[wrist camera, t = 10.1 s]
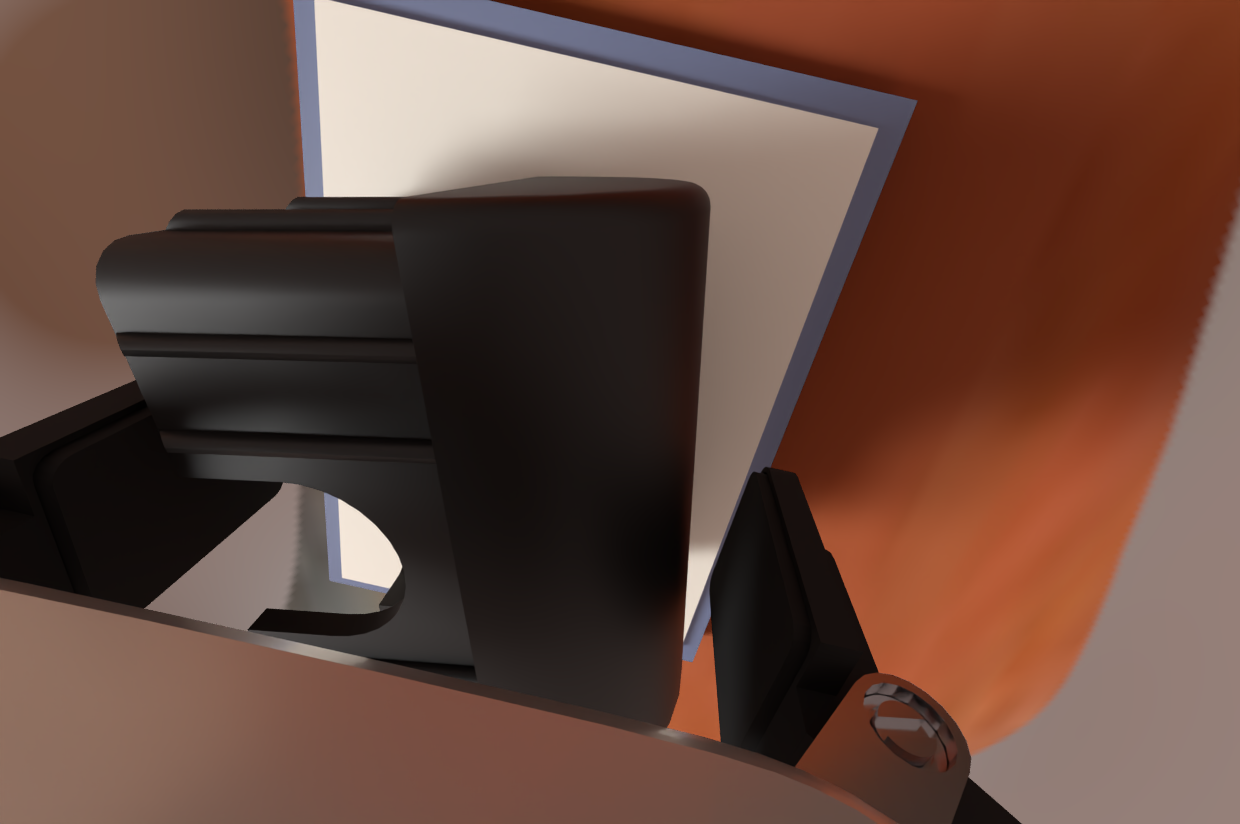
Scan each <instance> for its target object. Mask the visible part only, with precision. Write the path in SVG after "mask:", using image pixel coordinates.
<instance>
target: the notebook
mask: <svg viewBox="0 0 1240 824" xmlns="http://www.w3.org/2000/svg"><path fill="white" fill-rule="evenodd" d="M293 2H294V18H295V34H296V50H297V66H298V82H299V98H300V114H301V130H302V146H303V162H304V178H305V194H306V197H408V196H414V195H421V194H427V193H434V192H440V191H447V190H453V189H460V188H466V187H473V186H479V185H486V184H492V183H499V182H505V181H512V180H519V179H525V178H532V177H546V176H576V177H638V178H660V179H674V180H681V181H688V182H692V183H695V184H697V185H699V186H701V187H702V188H703V189H704V190H705V191H706V192H707V194H708V196H709V198H710V205H711V210H710V226H709V242H708V258H707V274H706V289H705V305H704V321H703V337H702V353H701V369H700V385H699V401H698V417H697V432H696V448H695V464H694V480H693V496H692V512H691V528H690V544H689V560H688V575H687V591H686V607H685V623H684V639H683V655H682V660H685V661H690V662H693V659H694V657H695V654H696V652H697V649H698V647H699V644H700V642H701V639H702V637H703V634H704V632H705V629H706V627H707V624H708V622H709V619H710V617H711V608H710V596H709V588H710V580H711V576H712V573H713V570H714V568H715V565H716V563H717V560H718V557H719V555H720V552H721V550H722V547H723V544H724V542H725V539H726V537H727V534H728V531H729V529H730V526H731V524H732V521H733V519H734V516H735V513H736V511H737V508H738V506H739V503H740V500H741V498H742V495H743V493H744V490H745V487H746V485H747V482H748V480H749V477H750V475H751V474H752V472H758V473H761V471H762V470H763V468H765V467H771V465H772V462H773V460H774V457H775V455H776V452H777V450H778V447H779V445H780V442H781V440H782V437H783V435H784V432H785V430H786V427H787V425H788V422H789V420H790V417H791V415H792V412H793V410H794V407H795V405H796V402H797V400H798V397H799V395H800V393H801V390H802V388H803V385H804V383H805V380H806V378H807V375H808V373H809V370H810V368H811V365H812V363H813V360H814V358H815V355H816V353H817V350H818V348H819V345H820V343H821V340H822V338H823V335H824V333H825V330H826V328H827V325H828V323H829V320H830V318H831V315H832V313H833V310H834V308H835V305H836V303H837V300H838V298H839V295H840V293H841V290H842V288H843V285H844V283H845V280H846V278H847V275H848V273H849V270H850V268H851V265H852V263H853V260H854V258H855V256H856V253H857V251H858V248H859V246H860V243H861V241H862V238H863V236H864V233H865V231H866V228H867V226H868V223H869V221H870V218H871V216H872V213H873V211H874V208H875V206H876V203H877V201H878V198H879V196H880V193H881V191H882V188H883V186H884V183H885V181H886V178H887V176H888V173H889V171H890V168H891V166H892V163H893V161H894V158H895V156H896V153H897V151H898V148H899V146H900V143H901V141H902V138H903V136H904V133H905V131H906V128H907V126H908V123H909V121H910V119H911V116H912V114H913V111H914V109H915V106H916V104H917V100H913V99H908V98H904V97H900V96H896V95H891V94H887V93H883V92H878V91H874V90H870V89H866V88H861V87H857V86H853V85H849V84H844V83H840V82H836V81H831V80H827V79H823V78H819V77H814V76H810V75H806V74H802V73H797V72H793V71H789V70H784V69H780V68H776V67H772V66H767V65H763V64H759V63H754V62H750V61H746V60H742V59H737V58H733V57H729V56H725V55H720V54H716V53H712V52H707V51H703V50H699V49H695V48H690V47H686V46H682V45H678V44H673V43H669V42H665V41H660V40H656V39H652V38H648V37H643V36H639V35H635V34H631V33H626V32H622V31H618V30H613V29H609V28H605V27H601V26H596V25H592V24H588V23H583V22H579V21H575V20H571V19H566V18H562V17H558V16H554V15H549V14H545V13H541V12H536V11H532V10H528V9H524V8H519V7H515V6H511V5H507V4H502V3H498V2H494V1H489V0H293ZM324 498H325V514H326V530H327V546H328V562H329V578H330V581H334V582H338V583H343V584H347V585H352V586H356V587H360V588H365V589H369V590H374V591H378V592H383V593H387V592H388V591H389V589H390V587H391V586H392V584H393V583H394V581H395V580H396V578H397V577H398V575H399V574H400V572H401V569H402V565H401V562H400V559H399V557H398V555H397V553H396V551H395V550H394V548H393V546H392V545H391V543H390V542H389V540H388V539H387V538H386V537H385V535H384V534H383V533H382V532H381V531H380V530H379V529H378V527H377V526H376V525H375V524H374V523H372V522H371V521H370V520H369V519H368V518H367V517H365V516H364V515H363V514H362V513H361V512H359V511H358V510H356V509H355V508H353V507H351V506H350V505H348V504H347V503H345V502H344V501H342V500H340V499H338V498H336V497H334V496H331V495H329V494H327V493H325V492H324Z"/></svg>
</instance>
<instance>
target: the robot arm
mask: <svg viewBox="0 0 1240 824" xmlns="http://www.w3.org/2000/svg"><path fill="white" fill-rule="evenodd" d="M282 484H283V482H271V481H250V480H229V479H208V478H187V477H179V475H178V473H177V471H176V469H175V466H174V464H173V462H172V460H171V457H170V455H169V453H168V452H167V451H166V449H165V447H164V445H163V442H162V439H161V435H160V433H159V431H158V428H157V426H156V424H155V422H154V419H153V417H152V415H151V413H150V410H149V408H148V406H147V404H146V401H145V399H144V397H143V395H142V393H141V390H140V388H139V386H138V384H137V381H136V380H135V381H133V382H130V383H128V384H125V385H123V386H121V387H118V388H116V389H114V390H111V391H109V392H107V393H104V394H102V395H100V396H97V397H95V398H92V399H90V400H88V401H85V402H83V403H81V404H78V405H76V406H73V407H71V408H69V409H66V410H64V411H62V412H59V413H57V414H55V415H52V416H50V417H47V418H45V419H43V420H40V421H38V422H36V423H33V424H31V425H29V426H26V427H24V428H22V429H19V430H17V431H14V432H12V433H10V434H7V435H5V436H3V437H0V824H1021V823H1020V822H1019V821H1018V820H1017V819H1016V818H1015V817H1013V816H1012V815H1011V814H1010V813H1009V812H1008V811H1007V810H1005V809H1004V808H1003V807H1002V806H1001V805H1000V804H999V803H997V802H996V801H995V800H994V799H993V798H992V797H991V796H989V795H988V794H987V793H985V791H984V790H982V789H981V788H980V787H979V786H978V785H977V784H976V783H974V782H973V781H972V780H971V779H970V778H969V777H968V776H969V773H970V766H971V756H970V752H969V749H968V745H967V741H966V739H965V738H964V736H963V734H962V732H961V731H960V729H959V727H958V725H957V724H956V722H955V721H954V720H953V719H952V717H951V716H950V715H949V714H948V713H947V711H946V710H945V709H944V708H943V707H942V706H941V705H940V704H939V703H938V702H937V701H935V700H934V699H933V698H932V697H931V696H930V695H929V694H927V693H926V692H925V691H923V690H922V689H920V688H918V687H917V686H915V685H914V684H912V683H910V682H909V681H906V680H904V679H901V678H899V677H896V676H894V675H890V674H883V673H879V672H878V669H877V667H876V664H875V662H874V659H873V657H872V654H871V652H870V649H869V646H868V644H867V641H866V639H865V636H864V634H863V631H862V629H861V626H860V624H859V621H858V618H857V616H856V613H855V611H854V608H853V606H852V603H851V601H850V598H849V595H848V593H847V590H846V588H845V585H844V583H843V580H842V578H841V575H840V572H839V570H838V567H837V565H836V562H835V560H834V558H833V556H832V554H831V553H830V552H829V551H827V550H825V548H824V545H823V543H822V540H821V537H820V535H819V532H818V530H817V527H816V524H815V522H814V519H813V516H812V514H811V511H810V508H809V506H808V503H807V500H806V498H805V495H804V493H803V490H802V487H801V485H800V482H799V479H798V477H797V475H796V474H795V473H792V472H788V471H783V470H779V469H774V468H770V467H765V468H763V470H762V471H761V473H758V472H752V474H751V475H750V477H749V480H748V482H747V485H746V487H745V490H744V493H743V495H742V498H741V500H740V503H739V506H738V508H737V511H736V513H735V516H734V519H733V521H732V524H731V526H730V529H729V531H728V534H727V537H726V539H725V542H724V544H723V547H722V550H721V552H720V555H719V557H718V560H717V563H716V565H715V568H714V570H713V573H712V576H711V580H710V588H709V596H710V608H711V621H712V634H713V647H714V660H715V672H716V685H717V698H718V711H719V724H720V736H721V742H719V741H715V740H712V739H709V738H705V737H702V736H698V735H694V734H690V733H686V732H682V731H678V730H674V729H669V728H665V727H661V726H657V725H653V724H649V723H645V722H641V721H637V720H633V719H629V718H625V717H621V716H617V715H613V714H609V713H605V712H601V711H597V710H593V709H588V708H584V707H580V706H575V705H571V704H567V703H562V702H558V701H554V700H549V699H545V698H540V697H536V696H532V695H527V694H523V693H519V692H514V691H510V690H506V689H501V688H497V687H492V686H488V685H484V684H479V683H475V682H471V681H466V680H462V679H458V678H453V677H449V676H444V675H440V674H436V673H431V672H427V671H423V670H418V669H414V668H409V667H405V666H400V665H396V664H392V663H387V662H383V661H378V660H374V659H369V658H365V657H360V656H356V655H351V654H347V653H342V652H338V651H333V650H329V649H325V648H320V647H316V646H311V645H307V644H302V643H298V642H293V641H289V640H284V639H280V638H275V637H271V636H266V635H262V634H257V633H253V632H248V631H244V630H239V629H234V628H230V627H225V626H221V625H217V624H212V623H208V622H202V621H199V620H194V619H189V618H184V617H180V616H175V615H171V614H166V613H162V612H157V611H153V610H148V609H144V608H145V607H146V606H148V605H149V604H150V603H151V602H152V601H154V600H155V599H156V598H157V597H158V596H159V595H160V594H162V593H163V592H164V591H165V590H166V589H167V588H169V587H170V586H171V585H172V584H173V583H174V582H176V581H177V580H178V579H179V578H180V577H181V576H182V575H184V574H185V573H186V572H187V571H188V570H190V569H191V568H192V567H193V566H194V565H195V564H196V563H198V562H199V561H200V560H201V559H202V558H203V557H205V556H206V555H207V554H208V553H209V552H210V551H212V550H213V549H214V548H215V547H216V546H217V545H218V544H220V543H221V542H222V541H223V540H224V539H226V538H227V537H228V536H229V535H230V534H231V533H233V532H234V531H235V530H236V529H237V528H238V527H239V526H241V525H242V524H243V523H244V522H245V521H246V520H248V519H249V518H250V517H251V516H252V515H253V514H255V513H256V512H257V511H258V510H259V509H260V508H262V507H263V506H264V505H265V504H266V503H267V502H269V501H270V500H271V499H272V498H273V497H274V496H275V495H276V494H277V493H278V492H279V490H280V489H281V486H282Z"/></svg>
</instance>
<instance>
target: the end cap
mask: <svg viewBox="0 0 1240 824" xmlns="http://www.w3.org/2000/svg"><path fill="white" fill-rule="evenodd" d="M710 210H711V205H710V198H709V196H708V194H707V192H706V191H705V190H704V189H703V188H702V187H701V186H699V185H697V184H695V183H692V182H688V181H681V180H674V179H660V178H638V177H576V176H546V177H532V178H525V179H519V180H512V181H505V182H499V183H492V184H486V185H479V186H473V187H466V188H460V189H453V190H447V191H440V192H434V193H427V194H421V195H414V196H408V197H297V198H295V199H293V200H292V201H291V203H290V204H289V205H288V206H287V208H286V209H285V210H284V209H283V210H282V209H281V210H280V209H278V210H277V209H274V210H273V209H272V210H267V209H266V210H264V209H263V210H182V211H180V212H178V213H177V214H175V216H174V217H173V218H172V219H171V220H170V222H169V224H168V226H167V228H166V230H162V231H155V232H149V233H142V234H135V235H129V236H126V237H123V238H120V239H117V240H115V241H113V242H112V243H111V244H110V245H109V246H108V247H107V248H106V249H105V250H104V251H103V253H102V255H101V257H100V259H99V262H98V264H97V266H96V286H97V290H98V293H99V297H100V301H101V303H102V305H103V308H104V310H105V312H106V314H107V316H108V319H109V321H110V323H111V325H112V327H113V330H114V332H115V334H116V337H117V341H118V344H119V346H120V349H121V351H122V353H123V355H124V356H125V357H126V359H127V361H128V363H129V366H130V368H131V370H132V372H133V375H134V377H135V379H136V381H137V384H138V386H139V388H140V390H141V393H142V395H143V397H144V399H145V401H146V404H147V406H148V408H149V410H150V413H151V415H152V417H153V419H154V422H155V424H156V426H157V428H158V431H159V433H160V435H161V439H162V442H163V445H164V447H165V449H166V451H167V452H168V453H169V455H170V457H171V460H172V462H173V464H174V466H175V469H176V471H177V473H178V475H179V477H187V478H208V479H229V480H250V481H271V482H284V483H293V484H299V485H303V486H306V487H310V488H313V489H317V490H320V491H323V492H325V493H327V494H329V495H331V496H334V497H336V498H338V499H340V500H342V501H344V502H345V503H347V504H348V505H350V506H351V507H353V508H355V509H356V510H358V511H359V512H361V513H362V514H363V515H364V516H365V517H367V518H368V519H369V520H370V521H371V522H372V523H374V524H375V525H376V526H377V527H378V529H379V530H380V531H381V532H382V533H383V534H384V535H385V537H386V538H387V539H388V540H389V542H390V543H391V545H392V546H393V548H394V550H395V551H396V553H397V555H398V557H399V559H400V562H401V565H402V569H401V572H400V574H399V575H398V577H397V578H396V580H395V581H394V583H393V584H392V586H391V587H390V589H389V591H388V592H387V594H386V595H385V597H384V598H383V600H382V601H381V603H380V604H379V608H380V612H374V613H368V614H339V613H325V612H311V611H296V610H282V609H268V608H267V609H266V610H265V611H264V612H263V613H262V614H261V615H260V616H259V618H258V619H257V620H256V621H255V622H254V623H253V624H252V625H251V626H250V628H249V629H248V632H253V633H257V634H262V635H266V636H271V637H275V638H280V639H284V640H289V641H293V642H298V643H302V644H307V645H311V646H316V647H320V648H325V649H329V650H333V651H338V652H342V653H347V654H351V655H356V656H360V657H365V658H369V659H374V660H378V661H383V662H387V663H392V664H396V665H400V666H405V667H409V668H414V669H418V670H423V671H427V672H431V673H436V674H440V675H444V676H449V677H453V678H458V679H462V680H466V681H471V682H475V683H479V684H484V685H488V686H492V687H497V688H501V689H506V690H510V691H514V692H519V693H523V694H527V695H532V696H536V697H540V698H545V699H549V700H554V701H558V702H562V703H567V704H571V705H575V706H580V707H584V708H588V709H593V710H597V711H601V712H605V713H609V714H613V715H617V716H621V717H625V718H629V719H633V720H637V721H641V722H645V723H649V724H653V725H657V726H661V727H665V728H667V726H668V725H669V723H670V720H671V717H672V714H673V711H674V708H675V705H676V702H677V699H678V696H679V690H680V680H681V670H682V655H683V639H684V623H685V607H686V591H687V575H688V560H689V544H690V528H691V512H692V496H693V480H694V464H695V448H696V432H697V417H698V401H699V385H700V369H701V353H702V337H703V321H704V305H705V289H706V274H707V258H708V242H709V226H710Z"/></svg>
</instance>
